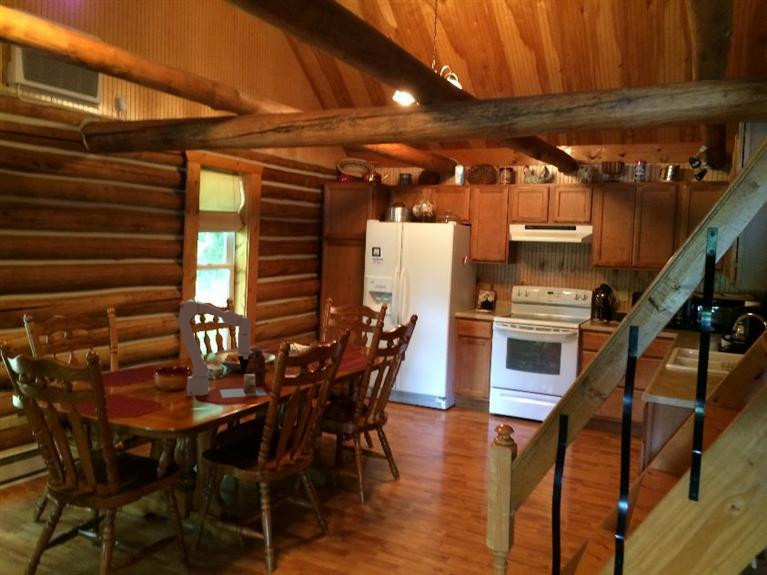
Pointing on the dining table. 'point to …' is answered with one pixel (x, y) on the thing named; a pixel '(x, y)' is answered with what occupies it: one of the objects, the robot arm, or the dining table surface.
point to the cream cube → (249, 379)
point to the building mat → (241, 393)
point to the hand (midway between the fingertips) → (243, 371)
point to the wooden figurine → (257, 366)
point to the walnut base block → (249, 389)
